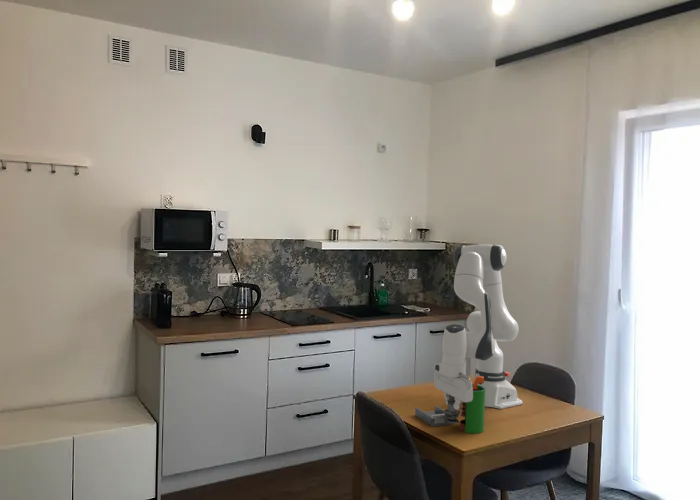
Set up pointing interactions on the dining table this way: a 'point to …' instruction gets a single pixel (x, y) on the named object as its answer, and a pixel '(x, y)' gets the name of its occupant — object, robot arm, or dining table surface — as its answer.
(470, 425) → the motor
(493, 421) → the dining table surface
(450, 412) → the grey tall turned piece
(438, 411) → the grey open frame
